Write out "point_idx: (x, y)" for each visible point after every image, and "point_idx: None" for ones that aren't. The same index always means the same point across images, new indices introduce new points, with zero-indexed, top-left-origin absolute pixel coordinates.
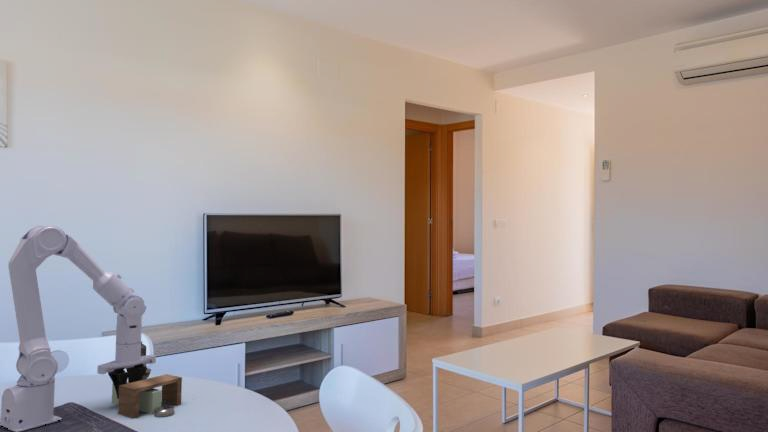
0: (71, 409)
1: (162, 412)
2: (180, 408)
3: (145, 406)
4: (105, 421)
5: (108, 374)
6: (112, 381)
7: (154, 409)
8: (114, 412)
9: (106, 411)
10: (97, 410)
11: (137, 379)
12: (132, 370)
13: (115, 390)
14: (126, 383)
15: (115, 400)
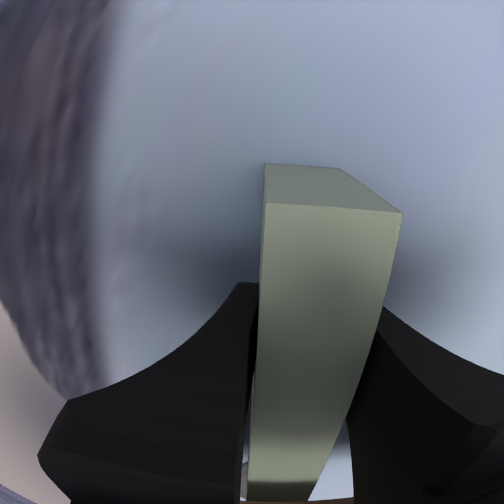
0: (43, 82)
1: (241, 495)
2: (345, 468)
3: (248, 454)
4: (87, 391)
5: (74, 403)
6: (161, 361)
7: (244, 480)
8: (158, 344)
9: (138, 297)
10: (113, 235)
11: (356, 465)
12: (395, 500)
13: (262, 242)
14: (330, 363)
15: (262, 216)
